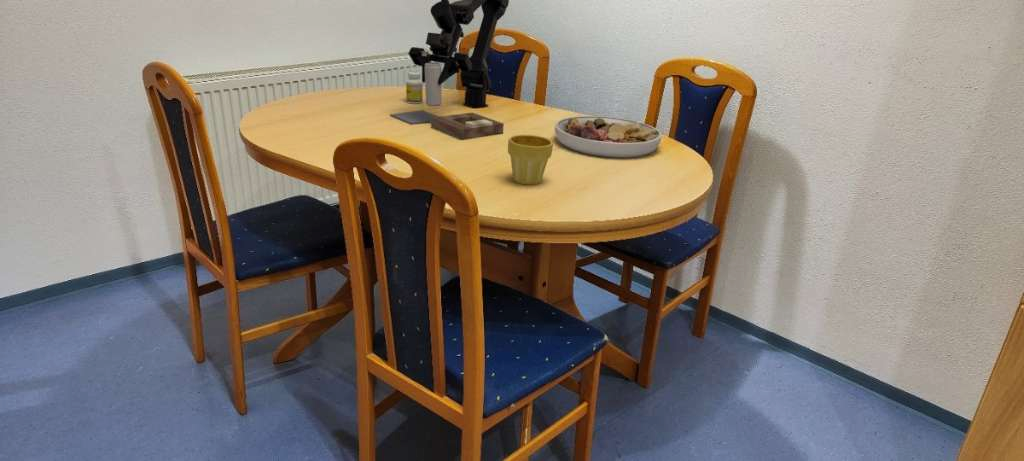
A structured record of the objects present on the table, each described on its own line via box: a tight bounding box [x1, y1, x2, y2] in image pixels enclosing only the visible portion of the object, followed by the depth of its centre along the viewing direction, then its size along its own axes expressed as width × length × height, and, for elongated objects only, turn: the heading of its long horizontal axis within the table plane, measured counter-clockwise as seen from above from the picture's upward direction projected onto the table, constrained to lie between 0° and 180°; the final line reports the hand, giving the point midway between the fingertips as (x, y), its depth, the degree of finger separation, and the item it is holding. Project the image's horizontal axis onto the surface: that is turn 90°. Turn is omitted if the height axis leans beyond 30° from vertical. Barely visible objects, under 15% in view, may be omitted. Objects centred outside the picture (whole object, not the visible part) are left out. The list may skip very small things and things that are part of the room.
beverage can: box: [424, 62, 443, 107], centre depth 197 cm, size 5×5×12 cm
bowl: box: [554, 115, 663, 159], centre depth 190 cm, size 30×30×8 cm
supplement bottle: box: [405, 71, 424, 105], centre depth 224 cm, size 5×5×10 cm
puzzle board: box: [430, 112, 505, 141], centre depth 196 cm, size 15×15×4 cm
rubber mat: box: [389, 109, 440, 126], centre depth 206 cm, size 12×12×1 cm
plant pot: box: [507, 133, 554, 186], centre depth 156 cm, size 10×10×10 cm
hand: (430, 83), depth 196 cm, fingers closed on beverage can, 5 cm apart
